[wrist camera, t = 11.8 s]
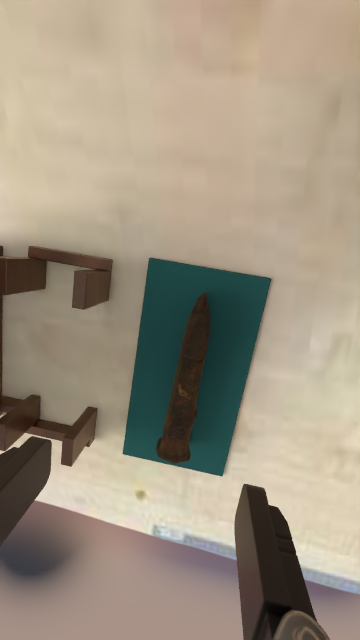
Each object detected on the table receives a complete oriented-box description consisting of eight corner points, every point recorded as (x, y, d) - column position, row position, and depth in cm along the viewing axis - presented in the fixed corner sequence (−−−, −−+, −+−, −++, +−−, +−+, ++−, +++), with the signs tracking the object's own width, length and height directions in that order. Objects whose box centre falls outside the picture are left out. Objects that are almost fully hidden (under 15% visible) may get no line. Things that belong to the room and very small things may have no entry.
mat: (270, 278, 27) (271, 278, 27) (222, 474, 33) (222, 476, 33) (150, 257, 28) (149, 257, 28) (123, 451, 34) (122, 454, 33)
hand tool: (190, 445, 32) (187, 475, 28) (159, 437, 32) (151, 465, 28) (230, 297, 28) (235, 304, 23) (193, 289, 28) (191, 294, 23)
